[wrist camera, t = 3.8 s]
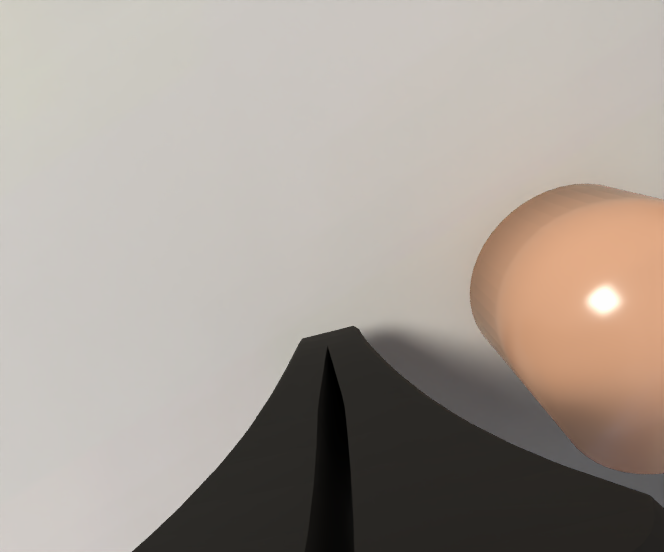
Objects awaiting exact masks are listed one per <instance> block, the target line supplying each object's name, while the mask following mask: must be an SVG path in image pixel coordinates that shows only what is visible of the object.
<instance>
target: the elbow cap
mask: <svg viewBox="0 0 664 552" xmlns="http://www.w3.org/2000/svg"><path fill="white" fill-rule="evenodd" d="M470 303H471V308H472V313H473V316H474V319H475V322H476V324H477V326H478V328H479V329H480V331H481V333H482V334H483V335H484V337H485V338H486V339H487V340H488V342H489V343H490V344H491V345H492V346H493V348H494V349H495V350H496V351H497V353H498V354H499V355H500V356H501V357H502V359H503V360H504V361H505V362H506V363H507V365H508V366H509V367H510V368H511V369H512V371H513V372H514V373H515V374H516V375H517V377H518V378H519V379H520V380H521V381H522V383H523V384H524V385H525V386H526V387H527V389H528V390H529V391H530V392H531V393H532V395H533V396H534V397H535V398H536V400H537V401H538V402H539V403H540V404H541V406H542V407H543V408H544V409H545V410H546V412H547V413H548V414H549V415H550V416H551V418H552V419H553V420H554V421H555V422H556V424H557V425H558V426H559V427H560V428H561V430H562V431H563V432H564V433H565V434H566V436H567V437H568V438H569V439H570V440H571V442H572V443H573V444H574V445H575V447H576V448H577V449H579V450H580V451H581V452H582V453H583V454H584V455H585V456H587V457H588V458H590V459H591V460H593V461H595V462H596V463H598V464H601V465H603V466H605V467H608V468H610V469H614V470H618V471H622V472H627V473H635V474H662V473H664V200H663V199H659V198H654V197H650V196H646V195H641V194H637V193H633V192H628V191H624V190H620V189H616V188H611V187H607V186H603V185H596V184H574V185H568V186H563V187H559V188H556V189H553V190H549V191H547V192H544V193H542V194H540V195H538V196H536V197H534V198H532V199H530V200H529V201H527V202H525V203H524V204H522V205H521V206H519V207H518V208H517V209H515V210H514V211H513V212H511V213H510V214H509V215H508V216H507V217H506V218H505V219H504V220H503V221H502V222H501V223H500V224H499V225H498V226H497V228H496V229H495V230H494V231H493V232H492V233H491V235H490V236H489V238H488V239H487V241H486V242H485V244H484V246H483V248H482V250H481V252H480V254H479V256H478V258H477V261H476V263H475V266H474V269H473V273H472V278H471V285H470Z"/></svg>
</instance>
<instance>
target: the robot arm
mask: <svg viewBox="0 0 664 552" xmlns="http://www.w3.org/2000/svg"><path fill="white" fill-rule="evenodd" d="M132 552H664V508H663V507H662V506H661V505H660V504H659V503H658V502H656V501H655V500H654V499H653V498H652V497H651V496H650V495H647V494H645V493H642V492H639V491H636V490H633V489H630V488H627V487H624V486H621V485H618V484H615V483H612V482H609V481H607V480H604V479H601V478H598V477H595V476H592V475H589V474H586V473H583V472H580V471H577V470H574V469H572V468H569V467H566V466H563V465H561V464H558V463H555V462H553V461H551V460H548V459H546V458H543V457H541V456H539V455H536V454H534V453H531V452H529V451H527V450H524V449H522V448H519V447H517V446H515V445H513V444H511V443H508V442H506V441H505V440H503V439H501V438H499V437H497V436H495V435H493V434H491V433H489V432H487V431H485V430H483V429H481V428H479V427H477V426H475V425H473V424H471V423H469V422H468V421H466V420H464V419H462V418H461V417H459V416H457V415H456V414H454V413H452V412H451V411H449V410H448V409H446V408H445V407H443V406H441V405H440V404H438V403H437V402H435V401H434V400H432V399H431V398H430V397H428V396H427V395H425V394H424V393H423V392H421V391H420V390H419V389H417V388H416V387H415V386H414V385H412V384H411V383H410V382H409V381H407V380H406V379H405V378H404V377H402V376H401V375H400V374H399V373H398V372H397V371H396V370H394V369H393V368H392V367H391V366H390V365H389V364H388V363H387V362H386V361H385V360H384V359H383V358H382V357H381V356H380V355H379V354H378V353H377V352H376V351H375V350H374V349H373V348H372V347H371V345H370V344H369V343H368V342H367V341H366V339H365V338H364V337H363V335H362V334H361V332H360V330H359V329H358V328H356V327H354V326H351V327H347V328H343V329H339V330H335V331H331V332H327V333H323V334H319V335H315V336H311V337H307V338H303V339H302V340H301V341H300V343H299V345H298V347H297V349H296V351H295V353H294V354H293V356H292V358H291V360H290V362H289V364H288V366H287V368H286V370H285V372H284V374H283V375H282V377H281V379H280V381H279V382H278V384H277V386H276V387H275V389H274V391H273V393H272V394H271V396H270V398H269V399H268V401H267V402H266V404H265V405H264V407H263V408H262V410H261V411H260V413H259V414H258V416H257V417H256V419H255V421H254V422H253V424H252V425H251V426H250V428H249V429H248V431H247V432H246V433H245V435H244V436H243V437H242V438H241V440H240V441H239V442H238V444H237V445H236V446H235V447H234V448H233V450H232V451H231V452H230V453H229V454H228V456H227V457H226V458H225V459H224V461H223V462H222V463H221V464H220V465H219V466H218V467H217V469H216V470H215V471H214V472H213V473H212V474H211V475H210V476H209V477H208V478H207V479H206V480H205V481H204V482H203V483H202V484H201V486H200V487H199V488H198V489H197V490H196V491H195V492H194V493H193V494H192V495H191V496H190V497H189V498H188V499H187V500H186V501H185V502H184V503H183V504H182V506H181V507H180V508H179V509H178V510H177V511H176V512H175V513H174V514H173V515H171V516H170V517H169V518H168V519H167V520H166V521H165V522H164V523H163V524H162V525H161V526H160V527H159V528H158V529H157V530H156V531H154V532H153V533H152V534H151V535H150V536H149V537H148V538H147V539H146V540H145V541H143V542H142V543H141V544H140V545H139V546H138V547H137V548H136V549H135V550H133V551H132Z"/></svg>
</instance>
